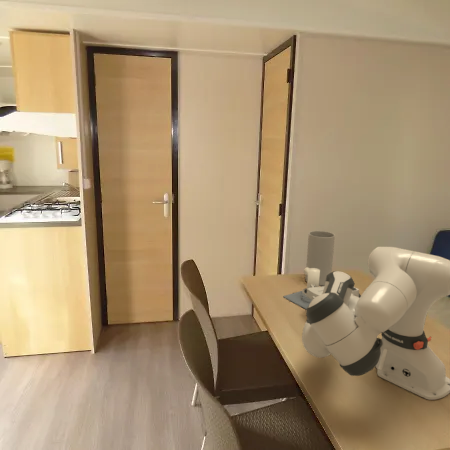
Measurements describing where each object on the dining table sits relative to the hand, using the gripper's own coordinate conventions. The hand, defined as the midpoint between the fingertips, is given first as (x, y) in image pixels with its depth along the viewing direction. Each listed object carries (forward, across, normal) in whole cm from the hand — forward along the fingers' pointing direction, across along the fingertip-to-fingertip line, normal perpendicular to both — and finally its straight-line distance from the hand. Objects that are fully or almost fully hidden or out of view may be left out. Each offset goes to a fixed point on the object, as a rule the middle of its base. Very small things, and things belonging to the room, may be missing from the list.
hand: (321, 285), depth 157 cm
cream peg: (+8, 0, -9) cm, 12 cm away
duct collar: (+6, 0, -10) cm, 12 cm away
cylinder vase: (+25, +14, -10) cm, 30 cm away
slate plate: (+6, 0, -10) cm, 12 cm away
